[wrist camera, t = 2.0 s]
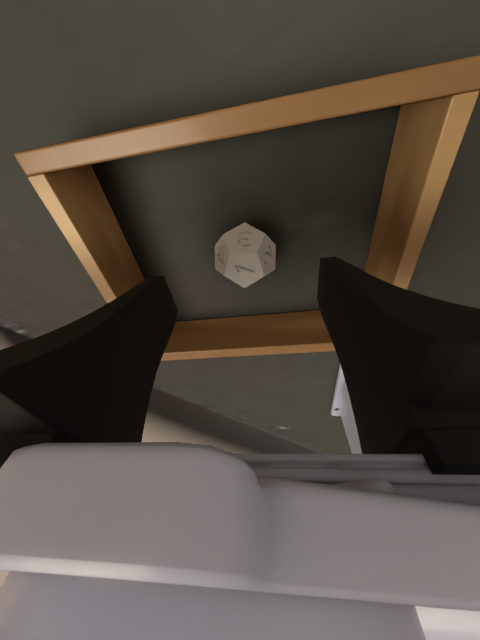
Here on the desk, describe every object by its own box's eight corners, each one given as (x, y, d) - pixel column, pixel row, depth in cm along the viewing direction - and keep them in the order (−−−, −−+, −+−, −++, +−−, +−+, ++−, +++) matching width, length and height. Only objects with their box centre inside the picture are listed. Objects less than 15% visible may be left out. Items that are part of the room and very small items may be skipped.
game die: (263, 278, 16) (265, 304, 13) (211, 263, 15) (203, 287, 13) (284, 229, 14) (290, 249, 11) (224, 209, 13) (217, 226, 11)
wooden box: (365, 314, 17) (385, 348, 15) (159, 330, 20) (144, 362, 17) (427, 73, 9) (496, 50, 7) (68, 147, 12) (11, 152, 9)
